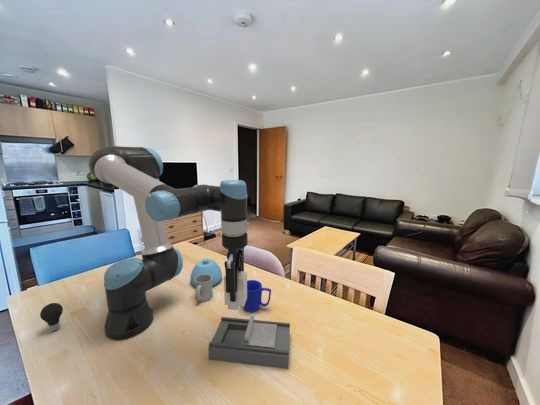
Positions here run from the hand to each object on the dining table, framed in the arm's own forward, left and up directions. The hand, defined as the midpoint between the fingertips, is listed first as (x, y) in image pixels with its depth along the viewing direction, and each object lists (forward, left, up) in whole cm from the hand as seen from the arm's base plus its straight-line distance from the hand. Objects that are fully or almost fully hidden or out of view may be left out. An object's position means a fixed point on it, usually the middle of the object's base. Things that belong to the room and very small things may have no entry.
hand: (236, 303), depth 71 cm
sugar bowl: (-25, +36, -15) cm, 47 cm away
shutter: (+8, 0, -11) cm, 14 cm away
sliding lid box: (+5, 0, -15) cm, 16 cm away
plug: (0, 0, -1) cm, 1 cm away
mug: (+3, +19, -15) cm, 25 cm away
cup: (-21, +22, -15) cm, 34 cm away
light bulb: (-65, -2, -15) cm, 67 cm away
